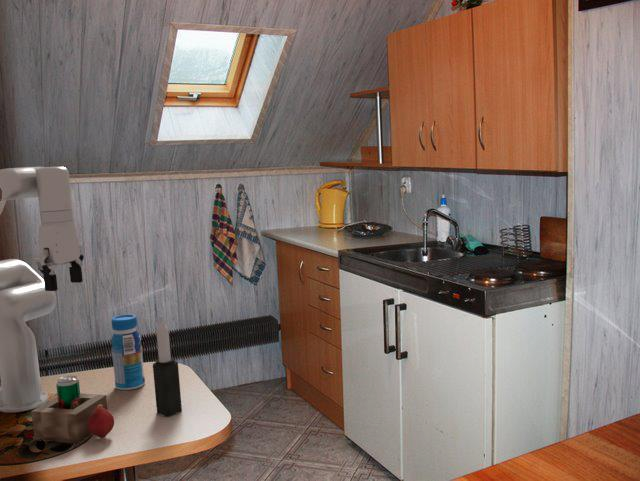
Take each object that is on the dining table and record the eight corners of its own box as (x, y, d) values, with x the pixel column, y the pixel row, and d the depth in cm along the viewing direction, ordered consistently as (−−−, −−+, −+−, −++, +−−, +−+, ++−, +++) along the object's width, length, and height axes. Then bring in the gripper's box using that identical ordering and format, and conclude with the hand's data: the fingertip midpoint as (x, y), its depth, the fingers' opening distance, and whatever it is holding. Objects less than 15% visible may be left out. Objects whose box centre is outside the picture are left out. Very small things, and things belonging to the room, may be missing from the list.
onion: (100, 445, 150) (97, 411, 149) (83, 440, 153) (80, 407, 152) (120, 435, 155) (117, 402, 153) (104, 431, 158) (100, 398, 156)
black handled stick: (155, 412, 167) (146, 316, 164) (172, 406, 171) (163, 311, 167) (166, 417, 164) (158, 319, 160) (183, 410, 167) (175, 314, 164)
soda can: (76, 431, 156) (70, 382, 154) (56, 430, 157) (51, 381, 155) (87, 422, 161) (82, 374, 159) (69, 421, 162) (63, 374, 160)
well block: (34, 439, 155) (31, 411, 154) (67, 419, 166) (64, 392, 165) (78, 443, 151) (75, 414, 150) (109, 422, 163) (106, 394, 162)
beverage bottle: (109, 390, 185) (102, 320, 182) (124, 380, 193) (117, 313, 190) (136, 391, 183) (130, 321, 180) (150, 380, 191) (144, 313, 188)
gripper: (66, 214, 171) (73, 279, 173) (19, 222, 154) (27, 294, 157) (91, 213, 169) (98, 279, 171) (46, 221, 152) (54, 294, 155)
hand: (64, 286), depth 164 cm, fingers open, 9 cm apart
